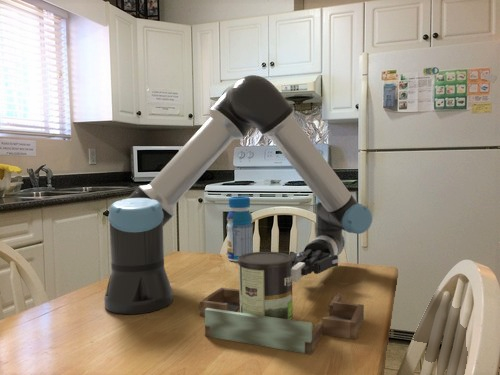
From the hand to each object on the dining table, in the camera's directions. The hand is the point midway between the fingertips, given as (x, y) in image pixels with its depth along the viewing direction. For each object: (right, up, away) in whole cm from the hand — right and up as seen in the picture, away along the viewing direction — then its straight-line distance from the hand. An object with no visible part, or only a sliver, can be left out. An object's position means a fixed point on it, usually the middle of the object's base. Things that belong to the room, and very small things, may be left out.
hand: (293, 275), depth 93 cm
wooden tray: (-3, -7, -6) cm, 10 cm away
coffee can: (-6, -8, -12) cm, 16 cm away
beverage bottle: (-13, -4, +43) cm, 45 cm away
